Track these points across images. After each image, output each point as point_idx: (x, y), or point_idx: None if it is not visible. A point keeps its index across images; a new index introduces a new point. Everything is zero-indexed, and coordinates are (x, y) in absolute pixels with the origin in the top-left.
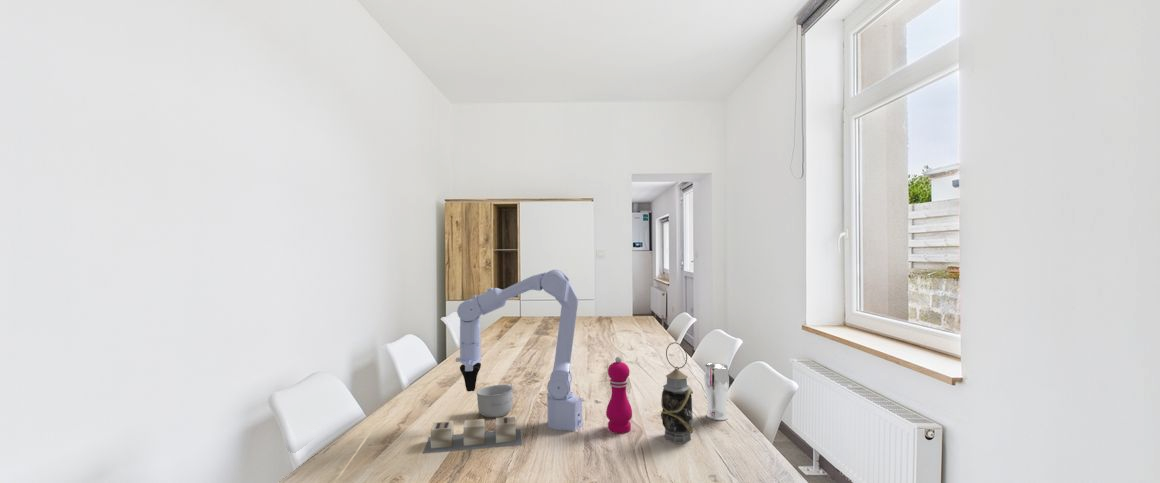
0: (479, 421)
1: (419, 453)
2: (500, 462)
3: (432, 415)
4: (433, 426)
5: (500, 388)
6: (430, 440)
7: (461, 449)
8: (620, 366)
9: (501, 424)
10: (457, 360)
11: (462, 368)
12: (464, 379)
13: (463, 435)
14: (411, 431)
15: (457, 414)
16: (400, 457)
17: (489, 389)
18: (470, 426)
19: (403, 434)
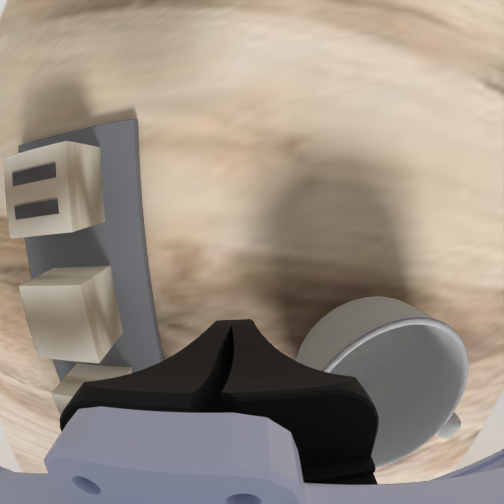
0: (72, 344)
1: (44, 127)
2: (10, 359)
3: (405, 91)
4: (31, 155)
5: (444, 402)
6: (100, 135)
7: (32, 264)
8: None
9: (59, 409)
10: (61, 458)
11: (64, 425)
12: (171, 356)
13: (129, 256)
14: (238, 34)
15: (404, 193)
16: (34, 82)
17: (455, 359)
18: (29, 311)
19: (212, 16)
